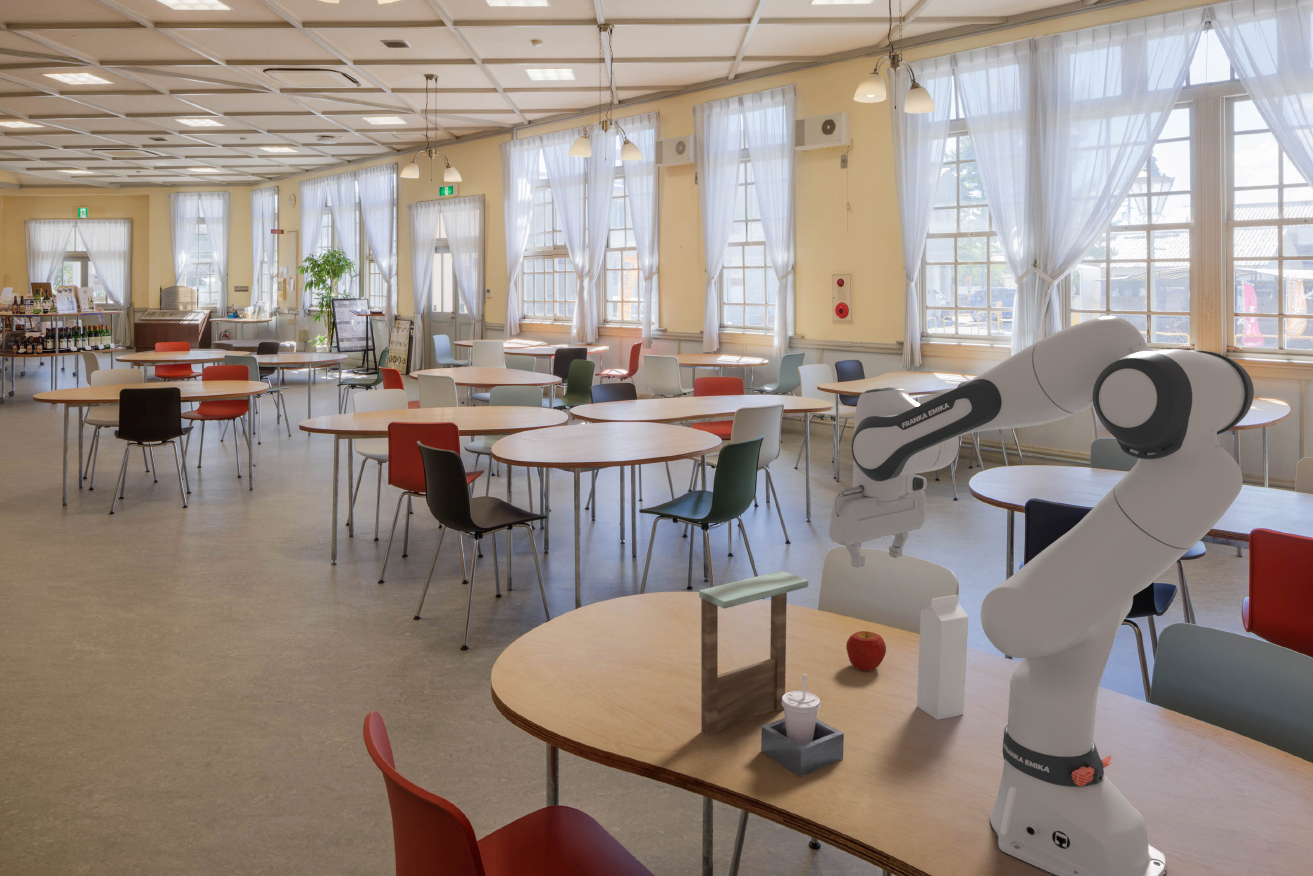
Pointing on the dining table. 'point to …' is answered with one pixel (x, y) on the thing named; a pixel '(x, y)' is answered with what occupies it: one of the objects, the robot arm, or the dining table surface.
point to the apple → (865, 650)
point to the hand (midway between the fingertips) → (876, 561)
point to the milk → (942, 658)
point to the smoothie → (800, 714)
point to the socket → (802, 747)
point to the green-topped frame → (754, 684)
